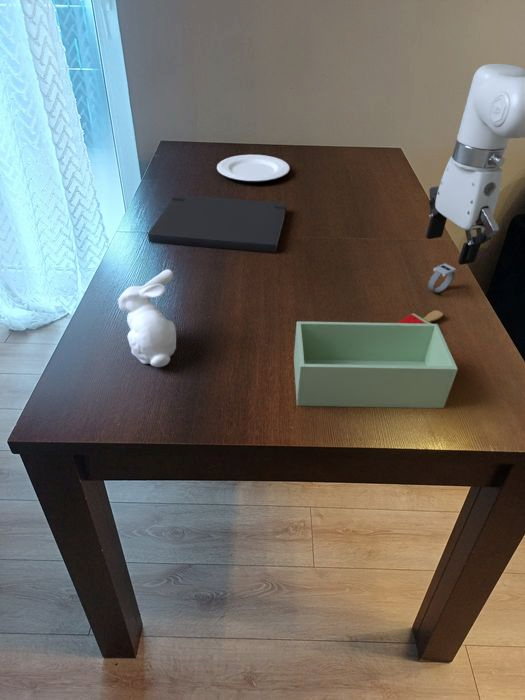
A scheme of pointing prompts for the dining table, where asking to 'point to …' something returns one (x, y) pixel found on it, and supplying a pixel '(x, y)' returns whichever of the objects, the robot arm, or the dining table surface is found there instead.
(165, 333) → the rabbit
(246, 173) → the plate
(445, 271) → the wristwatch
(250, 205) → the notebook
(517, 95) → the robot arm
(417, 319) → the popsicle
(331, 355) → the bin
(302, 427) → the dining table surface
